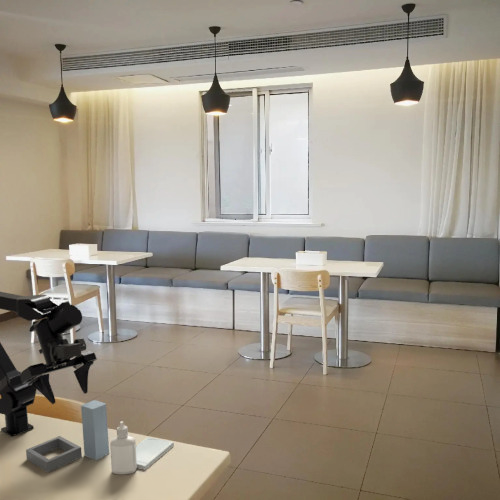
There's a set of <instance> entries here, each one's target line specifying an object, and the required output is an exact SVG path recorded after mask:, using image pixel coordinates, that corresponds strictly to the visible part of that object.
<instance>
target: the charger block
mask: <svg viewBox="0 0 500 500" xmlns="http://www.w3.org/2000/svg"><path fill="white" fill-rule="evenodd" d="M80 408H81V409H80V411H81V424H82V436H83V437H82V438H83V452H84V454H83V455H84V456H85V457H87V458H89V459H92V460H94V461H97V460H100V459H101V458H103V457H105V456H107V455H108V454H110V445H109V443H110V442H109V441H110V440H109V429H108V426H109V425H108V412H107V403H105V402H102V401H100V400H97V399H93V400H91V401H88V402H86V403H84V404H81V405H80Z"/></svg>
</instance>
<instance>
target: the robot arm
mask: <svg viewBox="0 0 500 500" xmlns="http://www.w3.org/2000/svg"><path fill="white" fill-rule="evenodd" d="M0 310H4V311H8V312H14V313H16V315H17V316H18V317H19V318H21V319H23V320H26V321H27V322H29V321H31V322H32V323H31V326H30V327H29V329H28V331H29V332H30V333H32V332H35V333H36V336H37V339H38V343H39V345H40V349H39V350H38V352H39V354H40V355H41V354H42V355H43V358H44V361H45V363H43V362H41V363H36V364H33V365H29V366H27V367H26V368H25V369H24V370H23V371H19V370H18V369H17V367H16V366H15V364H14V363H13V361H12V359H11V358H10V356H9V355H8V353H7V351H6V349H5V348H4V345H2V343H1V342H0V415H4V420H5V421H4V423H5V426H3V427H1V428H0V431H1V432H3V433H5V434H6V435H8V436H10V437H14V436H17V435H20V434H22V433H25V432H27V431H29V430H32V429H34V428H35V426H34V425H33V424H30V423H29V417H28V407H29V406H30V405H33V404H34V402H35V400H36V399H35V398H36V393H37V391H38V392H39V393H40V394H42V395H43V396H44V398H45V399H46V400H47V401H48V402H50V403H51V405H55V404H56V397H55V395H54V392H53V390H52V389H53V388H52V386H51V384H50V373H53V372H57V371H60V370H65V369H68V368H71V367H72V368H74V369H75V370H74V371H73V374H74V375H75V378H76V380H77V382H78V385H79V387H80V389H81V391H82V392H83V394H84V395H86V394H87V393H88V391H89V390H88V389H89V388H88V387H89V386H88V385H89V370H90V368H91V367H92V366H93V365H94V362H95V361H97V360H98V358H97V355H96V353H95V352H94V351H93V350H89V351H87V343H86V340H85V338H84V337H81V338H76V339H74V340H73V343H69V340H68V339H67V338H64V337H63V334H66V333H67V332H69V331H70V330H72V329H73V328H75V327H77V326H78V325H80V324H81V323H82V321H83V313H82V311H81V310H80V309H79V308H78V307H77V306H75V305H74V304H71V303H70V301H69V300H66V301H63V302H61V303H60V304H59V303H57V302H55V301H54V300H53V299H51V297H50V296H49V295H47V294H32V295H21V294H20V295H19V294H14V293H9V292H4V291H0ZM35 320H36V321H35ZM83 351H86V352H83Z"/></svg>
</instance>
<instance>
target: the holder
mask: <svg viewBox="0 0 500 500" xmlns="http://www.w3.org/2000/svg"><path fill="white" fill-rule="evenodd" d="M56 449H60V450H62V451H64V452H62V453H60V454H58V455H55V456H53V457H51V458H47V457H46V456H44V455H45V454H47V453H49V452H52V451H55V450H56ZM25 453H26V460H27V461H29V462H30V463H32V464H34V465H35V466H37V467H38V468H40V469H42V470H43V471H45V472H46V473H50V472H52V471H55V470H56V469H59V468H61V467H63V466H65V465H67V464H69V463H71V462H74V461H76V460H78V459H80V458H82V457H83V455H82V454H83V453H82V446H79V445H78V444H75V443H74V442H72V441H70V440H69V439H66V438H65V437H63V436H61V435H58V436H55V437H53V438H51V439H49V440H48V439H47V440H46V441H43V442H42V443H38V444H37V445H34V446H31V447H29V448H26V449H25Z"/></svg>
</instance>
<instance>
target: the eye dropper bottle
mask: <svg viewBox="0 0 500 500" xmlns="http://www.w3.org/2000/svg"><path fill="white" fill-rule="evenodd" d="M124 423H125V422H124V421H123V420H122V421H120V422H119V426H118V427H116V436H115V437H113V438H112V439H111V441H110V442H109V443H110V445H109V449H110V461H111V463H110V464H111V473H113V474H115V475H130V474H134V473H135V472H136V471H137V469H138V468H137V459H136V446H137V445H136V439H135V437H133V436H131V435H129V432H128V426H127V425H125V424H124Z"/></svg>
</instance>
